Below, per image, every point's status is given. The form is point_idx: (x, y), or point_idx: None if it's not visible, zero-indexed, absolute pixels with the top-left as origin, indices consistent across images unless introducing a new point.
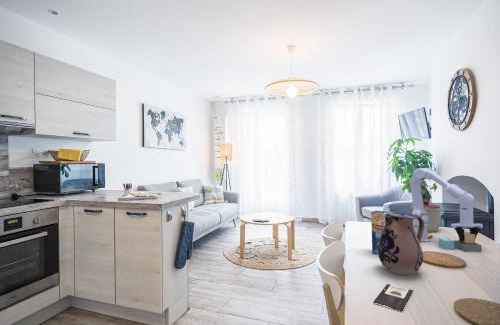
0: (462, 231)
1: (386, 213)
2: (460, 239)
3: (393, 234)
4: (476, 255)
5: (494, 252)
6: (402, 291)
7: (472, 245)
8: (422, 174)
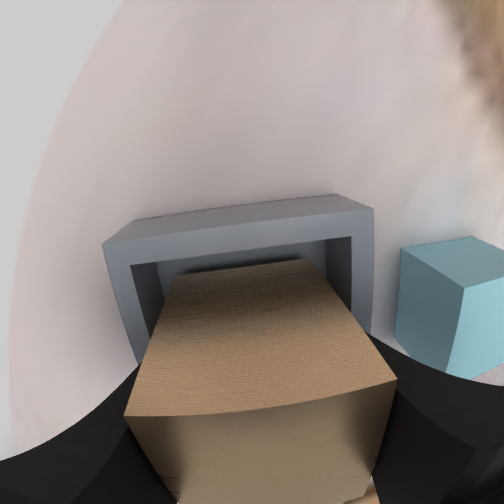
0: (481, 406)
1: None
2: None
3: None
4: (266, 58)
5: (29, 227)
6: None
7: (237, 223)
8: None
